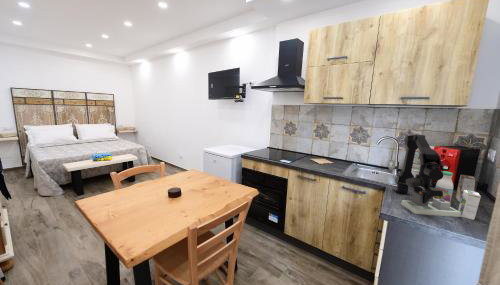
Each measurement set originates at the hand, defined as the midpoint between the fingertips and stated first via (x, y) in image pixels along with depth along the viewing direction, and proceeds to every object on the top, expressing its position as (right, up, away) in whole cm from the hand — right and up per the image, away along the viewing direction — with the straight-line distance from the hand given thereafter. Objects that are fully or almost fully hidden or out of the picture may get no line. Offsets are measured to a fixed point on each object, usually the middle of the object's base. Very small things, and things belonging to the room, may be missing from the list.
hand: (420, 201), depth 113 cm
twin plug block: (+11, -5, 0) cm, 12 cm away
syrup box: (+21, -8, -4) cm, 23 cm away
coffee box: (+43, -5, +18) cm, 46 cm away
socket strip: (+5, -6, +1) cm, 8 cm away
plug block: (0, -1, 0) cm, 2 cm away
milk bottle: (+23, -5, +13) cm, 27 cm away
